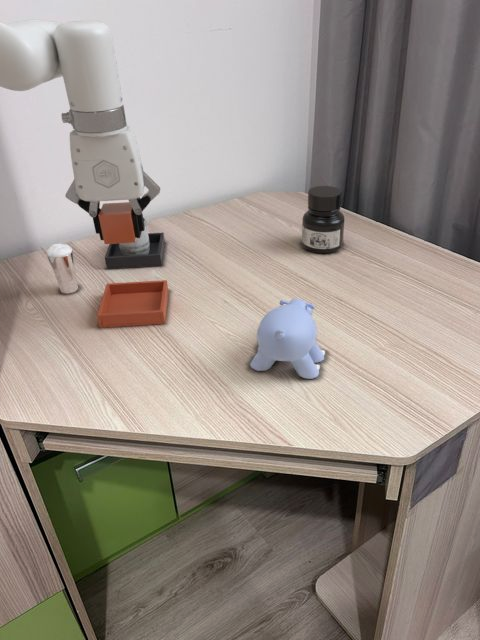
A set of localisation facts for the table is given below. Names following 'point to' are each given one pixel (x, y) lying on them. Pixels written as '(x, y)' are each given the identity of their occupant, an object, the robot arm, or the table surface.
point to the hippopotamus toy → (289, 339)
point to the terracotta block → (117, 223)
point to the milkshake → (63, 267)
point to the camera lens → (137, 244)
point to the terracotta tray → (133, 304)
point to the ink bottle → (323, 220)
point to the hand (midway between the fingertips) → (121, 234)
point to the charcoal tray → (152, 259)
